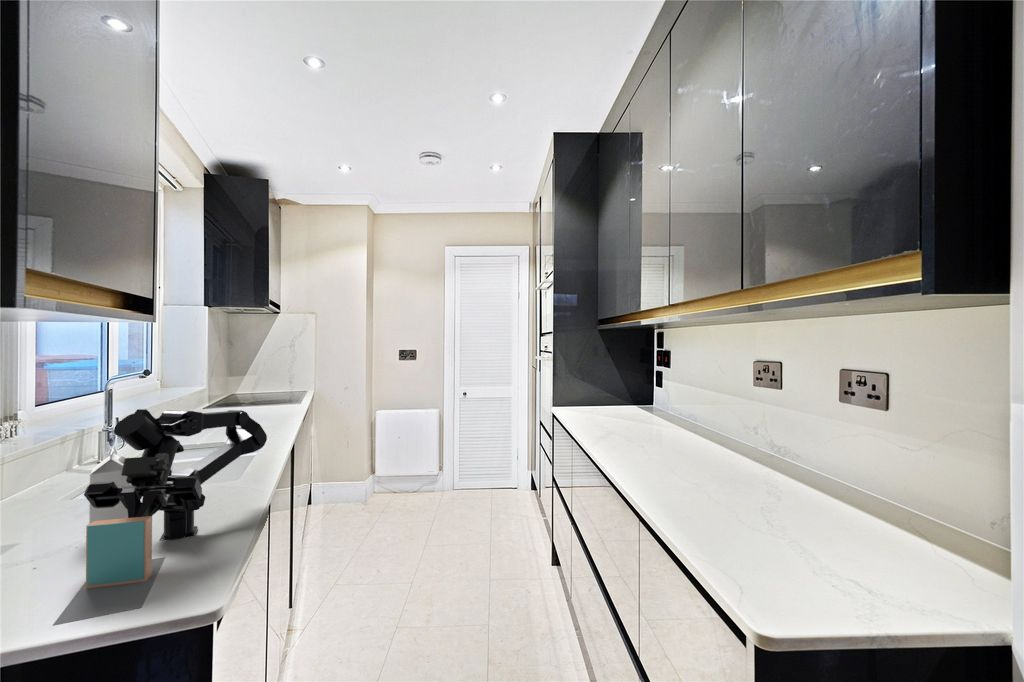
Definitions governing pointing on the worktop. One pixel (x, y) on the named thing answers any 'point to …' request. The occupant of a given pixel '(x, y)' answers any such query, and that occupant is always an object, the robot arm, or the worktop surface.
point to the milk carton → (108, 473)
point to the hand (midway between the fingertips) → (132, 532)
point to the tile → (118, 551)
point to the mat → (108, 598)
